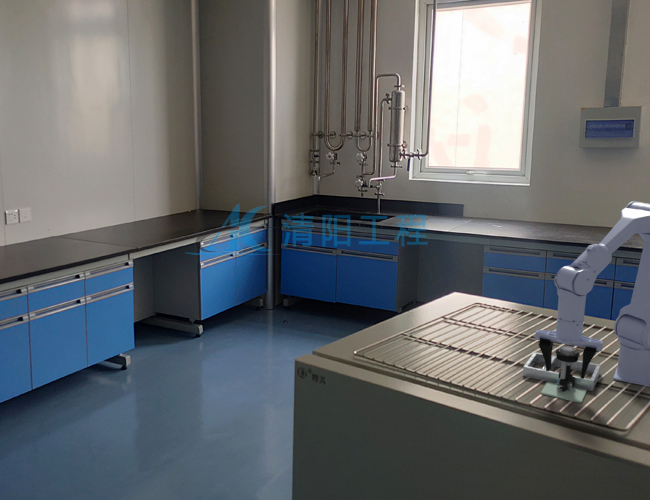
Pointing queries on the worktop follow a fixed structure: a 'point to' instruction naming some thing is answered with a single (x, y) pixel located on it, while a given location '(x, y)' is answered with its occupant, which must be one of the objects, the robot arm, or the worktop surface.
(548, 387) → the mat
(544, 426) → the worktop surface
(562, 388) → the push button
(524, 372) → the grey divided frame
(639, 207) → the robot arm
